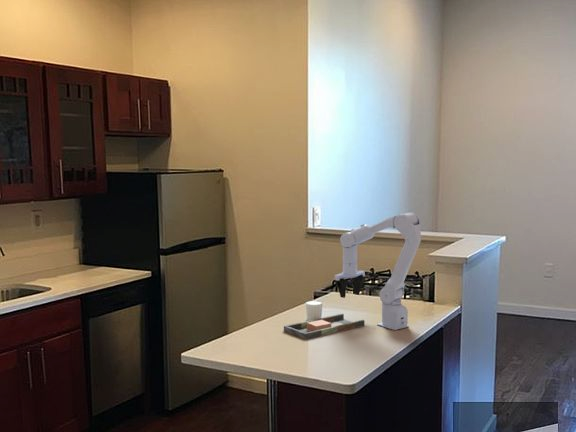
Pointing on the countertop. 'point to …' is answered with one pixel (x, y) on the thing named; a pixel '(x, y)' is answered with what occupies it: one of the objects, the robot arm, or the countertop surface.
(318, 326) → the brick block
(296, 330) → the channel
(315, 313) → the shot glass
